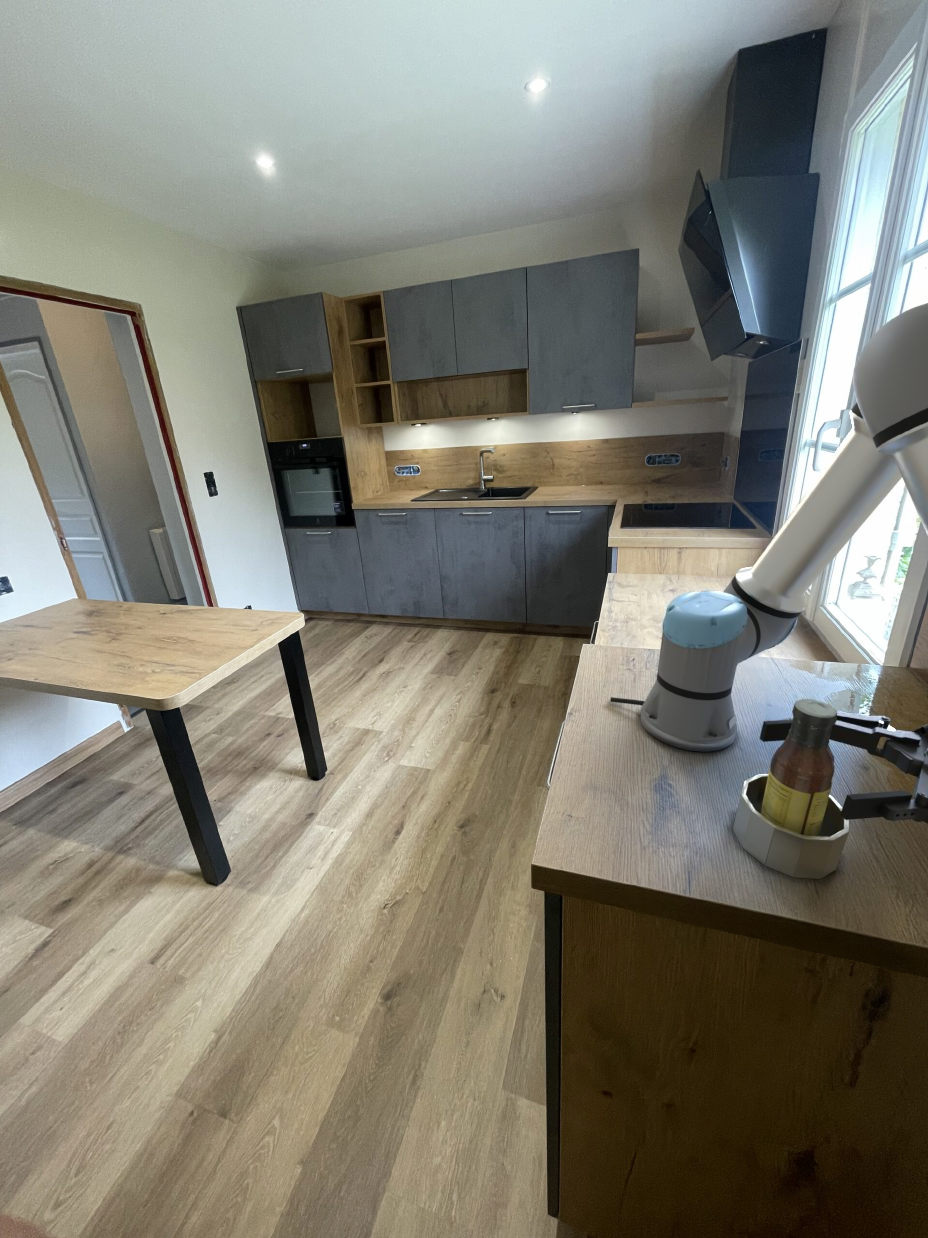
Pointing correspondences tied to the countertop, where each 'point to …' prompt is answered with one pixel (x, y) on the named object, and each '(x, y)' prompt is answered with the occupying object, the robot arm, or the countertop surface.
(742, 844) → the tin
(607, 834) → the countertop surface
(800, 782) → the sauce bottle
